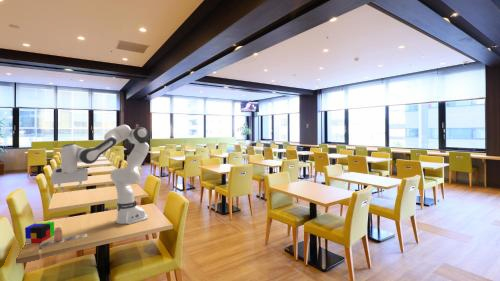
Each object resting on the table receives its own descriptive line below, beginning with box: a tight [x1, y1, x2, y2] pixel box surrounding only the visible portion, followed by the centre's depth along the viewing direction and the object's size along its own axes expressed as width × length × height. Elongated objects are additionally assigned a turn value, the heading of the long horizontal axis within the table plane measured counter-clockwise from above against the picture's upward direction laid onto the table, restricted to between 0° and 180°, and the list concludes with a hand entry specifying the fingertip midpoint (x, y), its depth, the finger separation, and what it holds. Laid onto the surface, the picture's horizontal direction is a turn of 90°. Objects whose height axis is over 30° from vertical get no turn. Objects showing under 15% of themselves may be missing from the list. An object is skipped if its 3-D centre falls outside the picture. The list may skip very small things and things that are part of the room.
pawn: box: [53, 226, 64, 243], centre depth 160 cm, size 4×4×8 cm
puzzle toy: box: [24, 221, 55, 245], centre depth 164 cm, size 10×10×10 cm
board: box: [37, 233, 88, 251], centre depth 162 cm, size 25×8×1 cm, turn 128°
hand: (70, 189), depth 175 cm, fingers open, 8 cm apart
